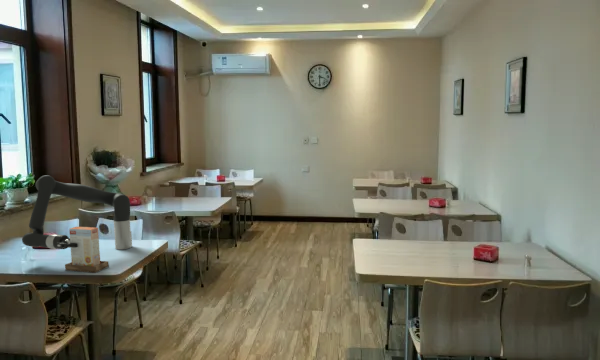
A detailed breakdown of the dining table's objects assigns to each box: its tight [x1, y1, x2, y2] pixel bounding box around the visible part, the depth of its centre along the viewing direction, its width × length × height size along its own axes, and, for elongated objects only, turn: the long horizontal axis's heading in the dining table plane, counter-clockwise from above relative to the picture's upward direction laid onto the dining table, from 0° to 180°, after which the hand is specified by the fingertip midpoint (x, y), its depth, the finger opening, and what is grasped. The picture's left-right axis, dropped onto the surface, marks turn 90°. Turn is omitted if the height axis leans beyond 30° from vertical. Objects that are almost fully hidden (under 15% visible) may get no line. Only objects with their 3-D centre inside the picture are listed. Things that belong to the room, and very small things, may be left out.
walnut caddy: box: [64, 260, 109, 274], centre depth 265 cm, size 11×19×3 cm, turn 73°
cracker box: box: [68, 226, 101, 267], centre depth 264 cm, size 14×6×21 cm, turn 71°
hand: (82, 243), depth 264 cm, fingers open, 8 cm apart
